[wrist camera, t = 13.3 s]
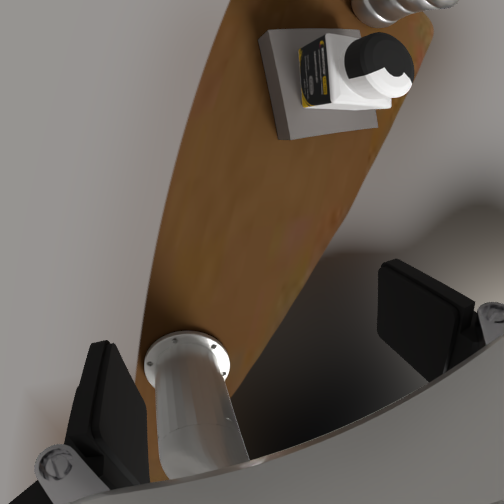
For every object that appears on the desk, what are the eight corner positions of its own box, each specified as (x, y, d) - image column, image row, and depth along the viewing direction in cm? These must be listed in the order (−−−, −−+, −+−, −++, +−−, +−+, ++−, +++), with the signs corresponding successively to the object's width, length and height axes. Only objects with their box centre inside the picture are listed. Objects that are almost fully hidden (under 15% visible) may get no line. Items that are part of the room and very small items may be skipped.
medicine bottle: (296, 48, 29) (354, 17, 19) (351, 55, 31) (419, 35, 20) (301, 108, 32) (362, 99, 21) (355, 110, 34) (426, 107, 23)
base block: (360, 127, 39) (378, 127, 35) (278, 139, 37) (290, 139, 33) (343, 37, 34) (359, 30, 30) (257, 39, 32) (267, 30, 28)
